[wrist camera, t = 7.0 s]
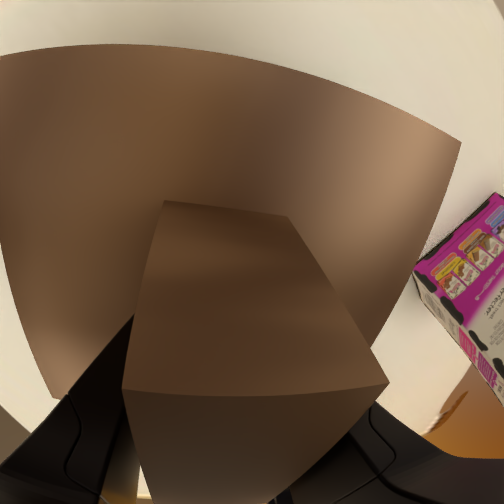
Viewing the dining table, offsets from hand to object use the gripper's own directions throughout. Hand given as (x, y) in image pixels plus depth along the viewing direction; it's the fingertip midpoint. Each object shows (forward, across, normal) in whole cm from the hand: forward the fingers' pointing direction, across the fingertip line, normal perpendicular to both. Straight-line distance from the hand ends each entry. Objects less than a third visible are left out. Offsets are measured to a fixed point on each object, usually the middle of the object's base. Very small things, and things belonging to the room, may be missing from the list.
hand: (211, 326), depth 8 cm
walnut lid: (+2, 0, 0) cm, 2 cm away
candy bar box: (+9, -21, 0) cm, 23 cm away
